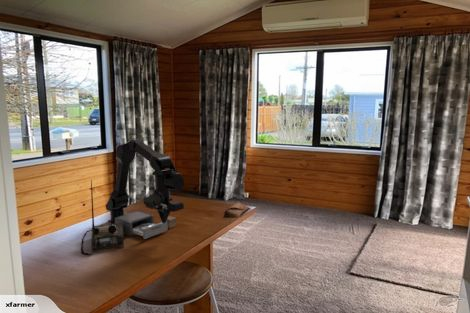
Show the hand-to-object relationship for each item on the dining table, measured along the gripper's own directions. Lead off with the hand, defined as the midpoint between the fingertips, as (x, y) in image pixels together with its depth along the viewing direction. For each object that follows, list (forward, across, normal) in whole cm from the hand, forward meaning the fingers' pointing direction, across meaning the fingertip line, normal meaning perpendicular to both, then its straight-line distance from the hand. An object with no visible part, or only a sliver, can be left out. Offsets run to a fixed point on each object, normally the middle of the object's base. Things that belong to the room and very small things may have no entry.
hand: (163, 222), depth 148 cm
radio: (+8, -14, -20) cm, 25 cm away
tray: (+6, -10, 0) cm, 12 cm away
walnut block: (+7, -10, +12) cm, 17 cm away
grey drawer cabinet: (+7, -20, 0) cm, 21 cm away
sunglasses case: (+8, +4, +48) cm, 49 cm away
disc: (+5, -11, 0) cm, 12 cm away
